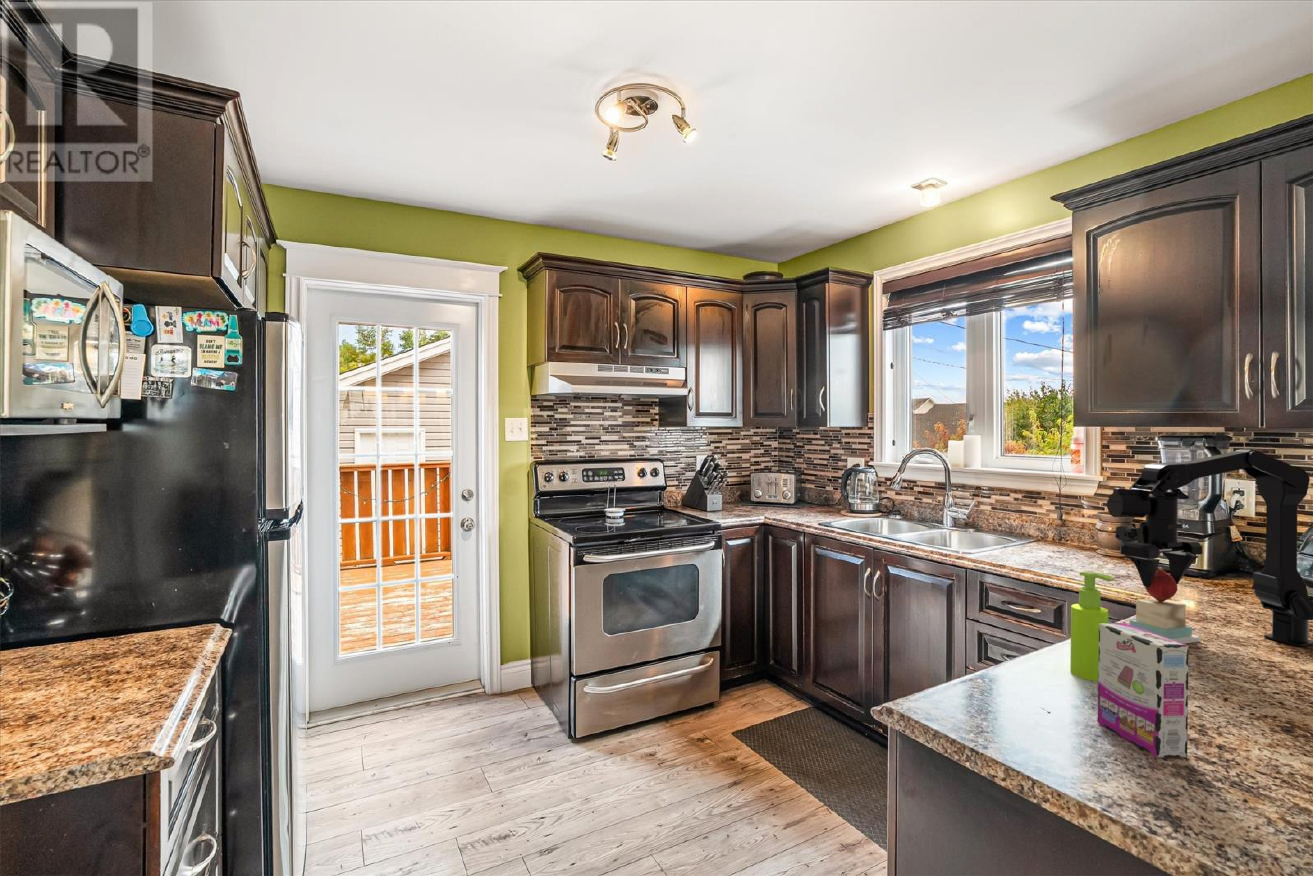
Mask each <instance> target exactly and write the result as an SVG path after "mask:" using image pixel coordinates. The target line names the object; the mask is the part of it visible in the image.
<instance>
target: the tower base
mask: <svg viewBox="0 0 1313 876" xmlns="http://www.w3.org/2000/svg"><path fill="white" fill-rule="evenodd" d="M1129 625H1132V626H1134V627H1137V628H1140V629H1143V630H1146V631H1149V632H1151V633H1154V634H1157V635H1160V636H1163V637H1166V638H1169V639H1171V640H1174V641H1177V642H1180V643H1182V644H1185V645H1187V644H1192V643H1199V642H1201V641H1200V640H1201V637H1200V636H1198V635H1194V634H1193V627H1191V626H1189V625H1185V626H1182V627H1175V628H1169V629H1162V628H1159V627H1155V626H1152V625H1148V624H1144V623H1141V622H1137V621H1136V618H1135V619H1134V618H1133V619H1130V620H1129Z"/></svg>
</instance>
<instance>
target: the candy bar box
mask: <svg viewBox="0 0 1313 876" xmlns="http://www.w3.org/2000/svg"><path fill="white" fill-rule="evenodd" d="M1189 648H1190V646H1189V645H1188V644H1182V643H1180V642H1177V641H1174V640H1171V639H1169V638H1166V637H1163V636H1160V635H1157V634H1154V633H1151V632H1149V631H1146V630H1143V629H1140V628H1137V627H1134V626H1132V625H1130V623H1129V624H1128V623H1125V622H1111V623H1110V622H1108V623H1101V624H1099V662H1098V681H1097V683H1098V685H1097V687H1098V689H1097V690H1098V691H1097V724H1098V725H1100V726H1101V727H1103V728H1105V729H1106V730H1108V731H1111V732H1112V733H1113V734H1115V735H1116V736H1119V737H1121V738H1122V739H1124V740H1126V741H1127V742H1129V743H1131V744H1132V745H1134V746H1136V747H1138V748H1139V749H1141V750H1143V751H1144V752H1146V753H1148V754H1150V755H1151V756H1153V757H1155V758H1157V759H1184V758H1188V739H1189V738H1188V727H1189V725H1188V720H1189V719H1188V716H1189V715H1188V714H1189V707H1188V706H1189V660H1190V659H1189V656H1190V655H1189V653H1190V652H1189V651H1190V650H1189Z"/></svg>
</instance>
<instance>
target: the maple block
mask: <svg viewBox="0 0 1313 876" xmlns="http://www.w3.org/2000/svg"><path fill="white" fill-rule="evenodd" d="M1135 601H1136V602H1135V611H1136V612H1135V619H1136V621H1137V622H1141V623H1144V624H1148V625H1152V626H1155V627H1159V628H1162V629H1169V628H1175V627H1182V626H1186V619H1187V618H1186V609H1187V606H1186V604H1185V603H1182V602H1178V601H1173V600H1170V599H1168V600H1165V601H1164V602H1159V601H1157V600H1156V599H1155V598H1153V597H1149V598H1140V599H1136V600H1135Z"/></svg>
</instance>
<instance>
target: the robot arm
mask: <svg viewBox="0 0 1313 876" xmlns="http://www.w3.org/2000/svg"><path fill="white" fill-rule="evenodd" d="M1240 470H1241V471H1243V472H1244V474H1245V475H1246V476H1249V478H1252V479H1253V480H1255V482H1256V488H1257V491H1258V494H1259V495H1260V497H1261V498H1262V499H1263V501H1264V502H1265V507H1266V508H1265V509H1266V512H1265V513H1266V514H1265V517H1266V519H1265V525H1266V526H1265V566H1264V568H1263V569H1262V570H1261V571H1260V572H1255V571H1254V572H1253V573H1252V582H1253V583H1252V587H1251V590H1254V595H1255V597H1256V598H1257V599H1259V602H1260V604H1261V606H1262V608H1263V609H1265V610H1270V611H1272V615H1271V616H1272V619H1271V621H1272V622H1271V625H1272V626H1271V633H1270V634H1264V635H1263V637H1264V638H1266V639H1270V640H1273V641H1277V642H1281V643H1285V644H1290V645H1293V646H1296V647H1306V646H1310V645H1313V640H1312V639H1309V621H1313V600H1312V599H1311V598H1310V597H1309V593H1308V588H1307V583H1306V582H1305V580H1304V578H1303V576H1302V575H1301V573H1300V571H1298V507H1299V504H1300V503H1301V502H1302V501H1303V500H1304V499H1305V498H1306V496H1307V495H1308V491H1309V486H1310V481H1311V478H1310V474H1309V472H1307V471H1306V470H1305V469H1304V468H1303V467H1299V466H1295V465H1291V464H1289V463H1288V462H1285V461H1282V460H1280V459H1278V458H1274V457H1272V456H1269V455H1267V454H1266V453H1264V452H1262V451H1259V450H1258V449H1244V448H1243V449H1236V450H1234V451H1231V452H1226V453H1222V454H1216V455H1212V456H1211V455H1210V456H1207V457H1203V458H1197V459H1193V460H1189V461H1182V462H1181V461H1179V462H1156V463H1155V462H1154V463H1148V464H1146V465H1145V466H1144V467H1143V468H1142V470H1141V473H1140V475H1139V476H1138V477H1137V478H1136V480H1135V481H1134V482H1133V483H1132V484H1131V486H1130V487H1129V488H1122V487H1121V488H1120V487H1113V489H1112V493H1110V495H1109V496H1108V500H1107V501H1106V508H1107V512H1108V514H1109V515H1110V516H1111V517H1113V518H1125V519H1127V518H1128V519H1129V518H1131V519H1133V518H1135V519H1136V518H1137V519H1141V518H1143V519H1144V518H1145V520H1142V521H1141V520H1140V522H1139V527H1134V528H1130V527H1129V526H1128V525H1120V526H1116V527H1115V535H1114V538H1116V539H1117V540H1118V541H1120V542H1121V545H1119V548H1120V549H1119V554H1120V555H1123V557H1125V558H1126V559H1129V560H1130V561H1131V562H1132V563H1133V564H1134V565H1135V569H1136V570H1137V572H1138V574H1139V575H1138V576H1139V577H1140V580H1141V582H1142V584H1143V585H1142V586H1143V587H1144V588H1145V587H1148V588H1149V587H1150V586H1151V584H1152V581H1153V578H1154V576H1155V573H1156V571H1157V570H1158V568H1159V564H1160V559H1159V558H1158V557H1159V556H1160V553H1162V554H1163V555H1164V556H1165V557H1166V559H1167V560H1168V567H1169V575H1171V576H1172V577H1173V579H1174V580H1175V581H1176V583H1177V585H1178V584H1179V583H1180V582H1181V581H1182V579H1183V577H1184V575H1185V574H1186V572H1187V571H1188V570H1189V568H1190V567H1191V566H1192V564H1193V563H1194V562H1195V560H1196V559H1198V558H1199V555H1203V545H1202V543H1200V542H1199V541H1195V540H1191V539H1190V540H1188V539H1182V538H1178V537H1179V536H1178V535H1179V531H1178V530H1179V529H1183V523H1180V522H1179V500H1189V499H1190V496H1188V495H1187V494H1186V493H1184V492H1183V491H1182V489H1181V488H1182V487H1185V486H1187V485H1190V484H1191V483H1192V482H1194V481H1195V480H1198V479H1201V478H1205V477H1206V478H1207V477H1212V476H1216V475H1220V474H1225V473H1230V472H1234V471H1240Z"/></svg>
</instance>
